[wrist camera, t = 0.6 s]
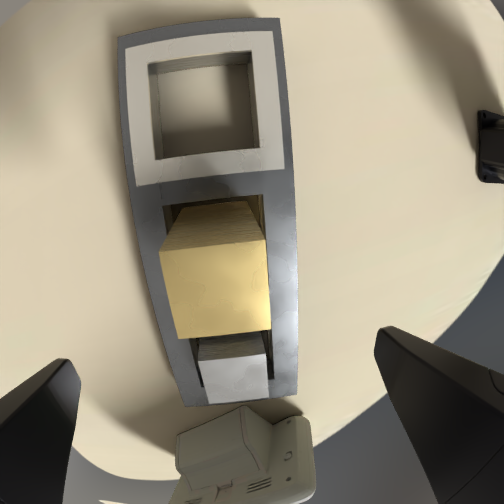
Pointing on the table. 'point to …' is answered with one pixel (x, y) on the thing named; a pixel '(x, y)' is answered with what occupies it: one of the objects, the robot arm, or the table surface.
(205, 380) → the steel peg
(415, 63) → the table surface
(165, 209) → the rail
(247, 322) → the brass peg
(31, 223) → the table surface
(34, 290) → the table surface
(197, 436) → the digital clock
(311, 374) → the table surface
